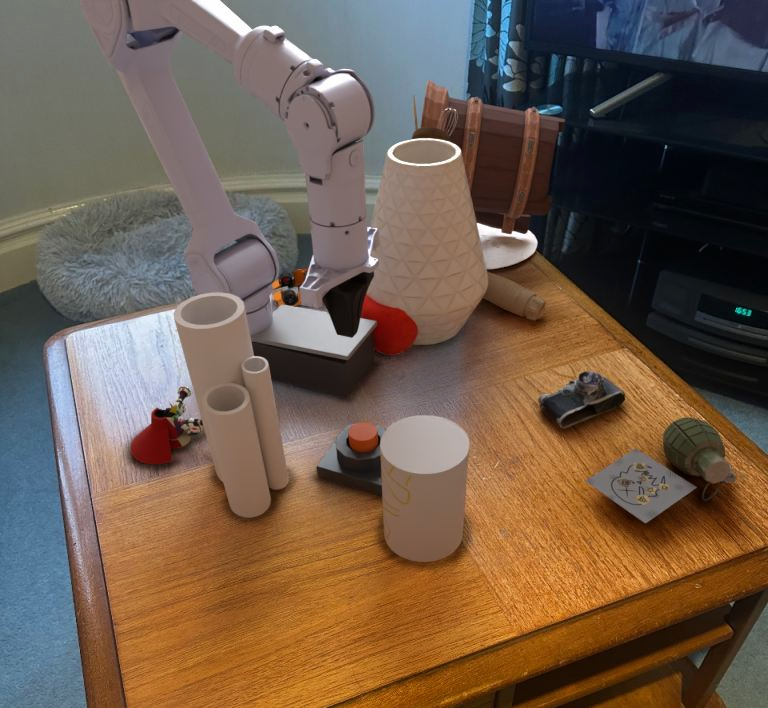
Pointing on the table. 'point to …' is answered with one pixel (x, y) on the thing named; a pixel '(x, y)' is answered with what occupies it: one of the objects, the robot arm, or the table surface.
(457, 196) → the vase
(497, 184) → the wooden chest
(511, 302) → the handle
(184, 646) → the table surface
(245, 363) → the vase
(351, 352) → the lid
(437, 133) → the utensil holder
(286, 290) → the toy car
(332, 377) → the lidded storage box
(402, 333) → the apple
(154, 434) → the action figure
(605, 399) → the camera
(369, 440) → the button
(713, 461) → the grenade
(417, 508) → the cup
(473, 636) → the table surface
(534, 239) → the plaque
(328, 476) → the block
